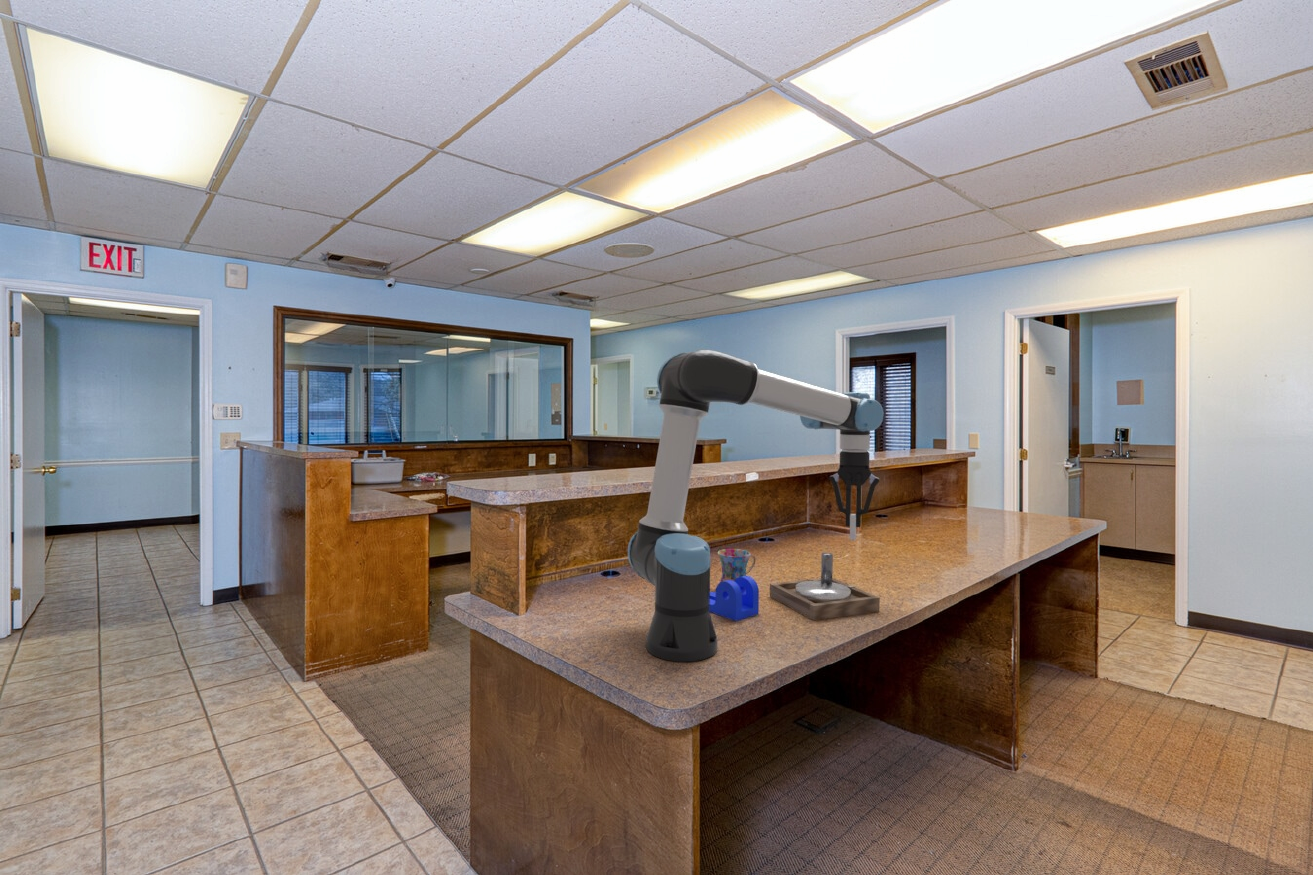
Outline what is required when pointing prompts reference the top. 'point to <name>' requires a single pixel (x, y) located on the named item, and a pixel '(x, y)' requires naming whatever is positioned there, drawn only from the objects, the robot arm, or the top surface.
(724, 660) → the top surface
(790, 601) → the dial panel
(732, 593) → the bracket
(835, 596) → the dial
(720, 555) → the mug
